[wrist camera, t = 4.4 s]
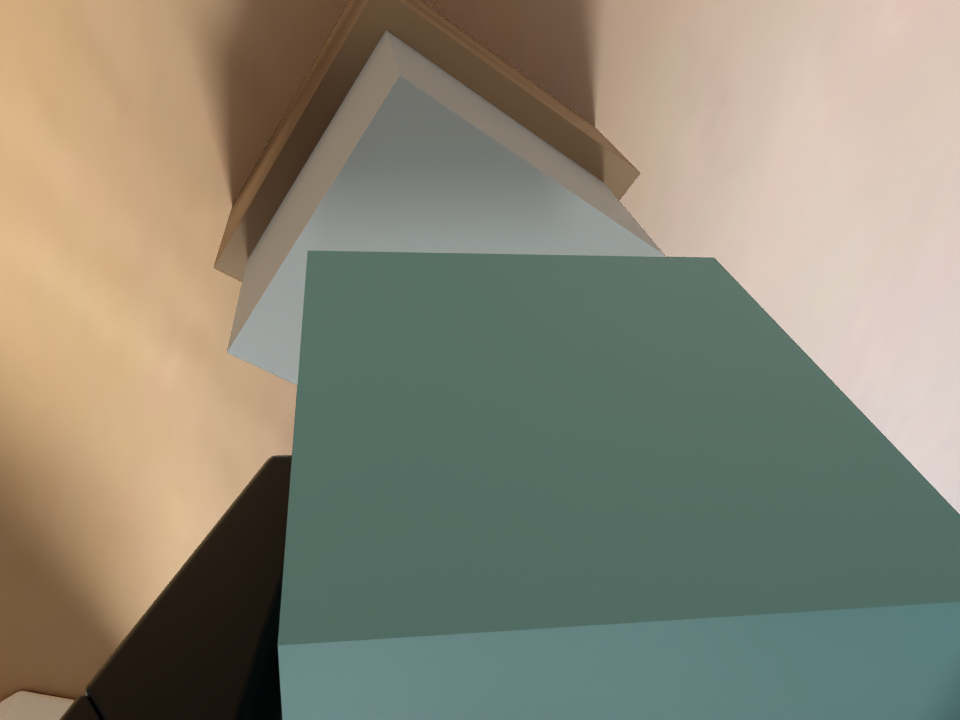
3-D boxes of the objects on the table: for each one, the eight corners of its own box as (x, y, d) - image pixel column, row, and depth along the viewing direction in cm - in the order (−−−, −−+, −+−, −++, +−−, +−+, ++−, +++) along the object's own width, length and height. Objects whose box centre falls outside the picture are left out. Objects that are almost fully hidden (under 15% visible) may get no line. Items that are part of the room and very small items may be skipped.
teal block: (640, 549, 11) (816, 950, 7) (315, 565, 11) (302, 1025, 6) (714, 257, 9) (1038, 596, 5) (308, 250, 8) (277, 644, 4)
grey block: (459, 370, 18) (484, 472, 15) (247, 259, 15) (226, 352, 13) (603, 182, 16) (665, 255, 13) (386, 29, 14) (399, 75, 11)
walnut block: (449, 320, 21) (467, 396, 18) (233, 203, 18) (213, 267, 15) (592, 124, 19) (640, 173, 16) (369, -38, 16) (377, -16, 13)
